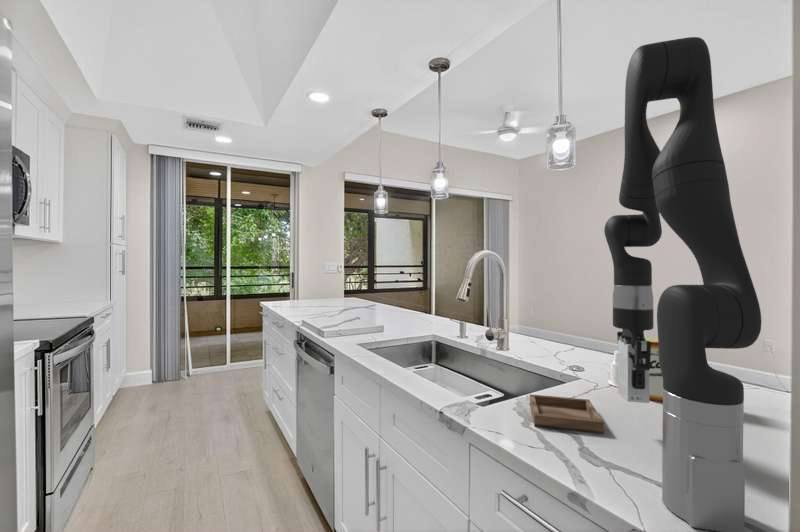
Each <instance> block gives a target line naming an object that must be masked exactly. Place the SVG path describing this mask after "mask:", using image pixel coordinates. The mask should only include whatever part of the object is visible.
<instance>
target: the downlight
mask: <svg viewBox="0 0 800 532" xmlns="http://www.w3.org/2000/svg"><path fill="white" fill-rule="evenodd" d="M609 370H610V371H609ZM607 375H608V378H609V379H608V380H607V383H608V384H609V385H611V386H613V387H616V388H618V350H613V361H610V365H607Z"/></svg>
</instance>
